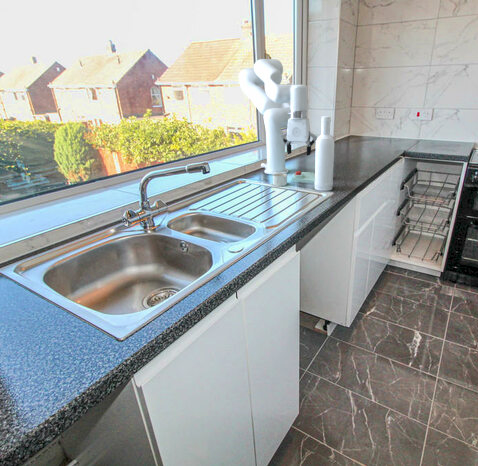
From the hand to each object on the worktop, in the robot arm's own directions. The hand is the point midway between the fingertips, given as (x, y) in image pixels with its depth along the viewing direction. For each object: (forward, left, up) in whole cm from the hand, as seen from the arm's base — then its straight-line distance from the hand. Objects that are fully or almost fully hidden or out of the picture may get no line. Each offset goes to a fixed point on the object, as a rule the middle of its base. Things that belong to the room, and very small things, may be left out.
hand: (298, 154), depth 153 cm
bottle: (+15, -9, -13) cm, 22 cm away
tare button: (0, 0, -10) cm, 10 cm away
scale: (+6, +4, -12) cm, 14 cm away
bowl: (-5, -10, -12) cm, 17 cm away
